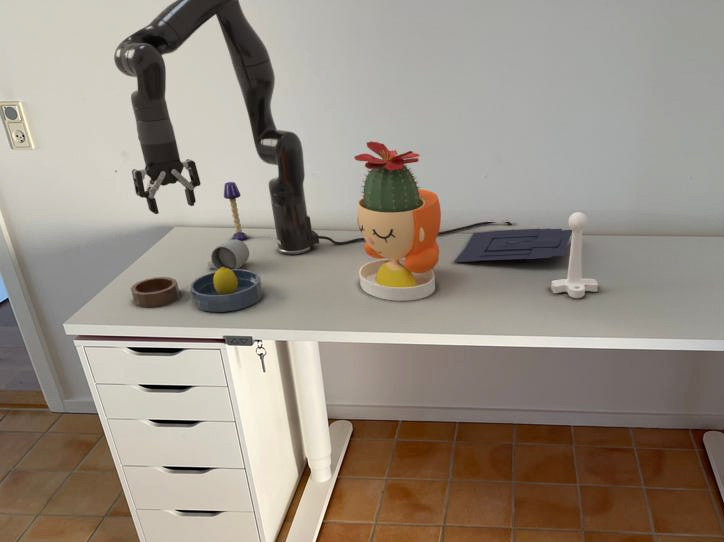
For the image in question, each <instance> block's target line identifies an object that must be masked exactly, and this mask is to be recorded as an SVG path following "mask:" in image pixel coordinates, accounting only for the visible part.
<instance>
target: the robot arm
mask: <svg viewBox="0 0 724 542" xmlns="http://www.w3.org/2000/svg"><path fill="white" fill-rule="evenodd" d="M214 16H215V17H216V18H217V21H218V24H219V27H220V30H221V34H222V36H223V39H224V42H225V44H226V48H227V51H228V54H229V57H230V61H231V64H232V67H233V71H234V74H235V77H236V79H237V83H238V85H239V88H240V91H241V95H242V98H243V102H244V106H245V109H246V112H247V115H248V121H249V125H250V128H251V134H252V138H253V139H252V140H253V144H254V147H255V150H256V153H257V156H258V157H259V158H260V160H261V161H262V162H263V163H265V164H268V165H272V166H277V171H278V174H277V176H276V177H273V178H271V179H270V180H269V181H268V191H269V198H270V203H271V209H272V210H271V211H272V215H273V222H274V223H273V224H274V228H275V234H276V238H275V242H276V243H277V248H278V252H279V253H280V254H283V255H291V256H292V255H293V256H294V255H301V254H305V253H308V252H309V251H311V250H314V249H315V245H319V244H320V240H321V239H322V240H327V241H329V242H331V243H332V244H334V245H340V246H341V245H347V244H352V243H356V242H361V241H366V240H365V239H364V237H358V238H354V239H350V240H346V241H335V240H334V239H333V238H331V237H328V236H324V235H319V234H318V233H317V232H316V231H314V229H313V228H312V223H311V217H310V216H309V215H308V211H307V210H308V209H307V202H306V196H305V188H304V182H305V176H306V175H305V163H304V162H305V161H304V150H303V145H302V141H301V139H300V137H299V135H297V134H296V133H295V132H293V131H289V130H281V129H277V126H276V124H275V121H274V118H273V113H272V99H273V94H274V90H275V86H276V85H275V84H276V76H275V71H274V68H273V65H272V61H271V58H270V54H269V51H268V49H267V47H266V45H265V43H264V41H263V40H262V39H261V37H260V36H259V35H258V33H257V32H256V30H255V29H254V27H252V25H251V24H250V22H249V21H248V18H246V15H245V13H244V11H243V9H242V6H241V3H240V0H175V1H173V2H171V3H170V4H169V5H167V6H166V7H165V8H164V9H163V10H162V11H161V12H159V14H158V15H156V17H155V18H153V19H152V21H150V23H148V24H147V25H146V26H144V27H142V28H140V29H138V30H136V31H135V32H133V33H132V34H130V35H128V36H127V37H125V39H123V40H122V41H121V42H120V43H119V44H118V45H117V47H116V49H115V51H114V56H113V60H114V64H115V66H116V68H117V69H118V71H119V72H121V73H122V74H123V75H125V76H127V77H131V78H136V81H137V85H136V86H137V89H136V90H134V91H132V93H131V94H130V102H131V107H132V110H133V114H134V118H135V124H136V132H137V139H138V141H139V145H140V148H141V152H142V157H143V161H144V164H145V167H144V168H143V169H136V168H133V169H131V175H132V180H133V185H134V191H135V194H136V196H138V197H139V198H144V199H146V204H147V207H148V209H149V211H150V212H151V213H152V214H154V215H158V214H160V212H159V207H158V203H157V200H156V198H155V196H156V193H157V191H159V189H160V187H161V186H162V187H164V186H168V185H170V184H172V185H173V184H176V183H177V182H178V183H180V184H181V185H182V186H183V187H184V188H185V189H184V193H185V198H186V203H187V204H188V206H190V207H194V206H195V203H196V202H197V201H196V196H195V188H196V187H200V186H201V184H202V183H201V179H200V176H199V172H198V168H197V165H196V162H195V160H192V159H189V158H187V159H186V160H184V161H181V156H180V153H179V148H178V144H177V138H176V134H175V129H174V125H173V123H172V120H171V117H170V113H169V108H168V104H167V100H166V91H167V90H166V89H167V70H166V64H165V63H166V62H165V60H164V57H163V56H164V55H168V54H172V53H174V52H176V51H178V50H179V48H180V47H181V46H182V45H184V44H185V42H187V40H189V39H190V37H192V36H193V34H194V33H196V32H197V31H198V30H199V29H200V28H201V27H202V26H203V25H204V24H206V23H207V22H208V21H210V19H212V18H214ZM184 169H185V171H186V170H187V172H188V175H189V179H190V181H189V180H188V179H187V178H186V177H184V176H183V175H182V173H183V170H184ZM146 176H147V177H148V178H149V180H148V182H147V186H146V188H145V186H144V184H145V183H144V180H145V178H146ZM507 221H508V222H504V223H505V224H507V225H509V226H512V225H513V224H512V222H510V221H509V220H507ZM494 223H496V222H488V221H482V222H476V223H472V224H468V225H464V226H461V227H456V228H453V229H449V230H444V231H439V233H438V236H441V235H446V234H449V233H455V232H458V231H463V230H466V229H471V228H473V227H477V226H478V227H479V226H484V225H489V224H494Z"/></svg>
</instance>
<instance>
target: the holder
mask: <svg viewBox="0 0 724 542" xmlns="http://www.w3.org/2000/svg"><path fill="white" fill-rule="evenodd" d="M130 291H131V295H132V298H133V301H134V304H135V305H136V306H138V307H140V308H141V307H142V308H157V307H163V306H166V305H169V304H172V303H174V302H175V301H177V300H178V299H179V298H180V296H181V295H180V294H181V293H180V289H179V284H178V282H177V280H176V279H175V278H172V277H167V276H159V277H151V278H146V279H143V280H140V281H137V282H136V283H135V284H133V285H132V286H131V287H130Z"/></svg>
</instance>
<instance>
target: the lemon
mask: <svg viewBox="0 0 724 542" xmlns="http://www.w3.org/2000/svg"><path fill="white" fill-rule="evenodd" d="M214 272H215V274H214V278H213V282H214V287H215V289H216V291H217V292H218V293H219V294H220V295H226V294H232V293H235V292H236V290H237V287H238V281H237V278H236V276H235V274H234V272H233V271H232V270H230V269H228V268H224V267H221V269H218V270H217V269H216V271H214Z"/></svg>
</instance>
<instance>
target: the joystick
mask: <svg viewBox="0 0 724 542" xmlns="http://www.w3.org/2000/svg"><path fill="white" fill-rule="evenodd" d="M568 226H569V228H570V230H572V234H571V242H570V249H569V250H570V251H569V259H568V266H567V276H566V278H561V279H554V280H552V281H551V284H550V285H551V286H550V287H551V288H550V291H551V292H552V293H553V294H559V293H567V294H568V296H569V297H570V298H572V299H581V298H583V297H584V296H585V294H586V292H594V293H596V292H598V288H599V287H598V286H599V283H598V282H597V279H595V278H583V231H584V229H586V227H587V226H588V217H587V215H585V214H584V213H583V212H580V211H576V212H573V213H572V214H571V215H570V216H569V218H568Z"/></svg>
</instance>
